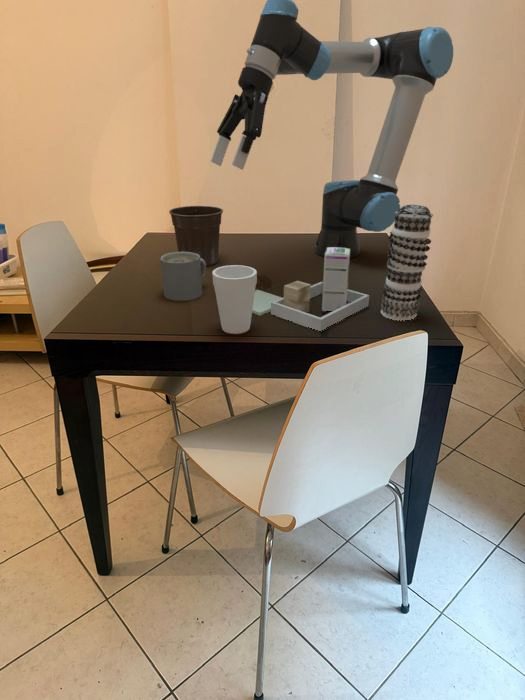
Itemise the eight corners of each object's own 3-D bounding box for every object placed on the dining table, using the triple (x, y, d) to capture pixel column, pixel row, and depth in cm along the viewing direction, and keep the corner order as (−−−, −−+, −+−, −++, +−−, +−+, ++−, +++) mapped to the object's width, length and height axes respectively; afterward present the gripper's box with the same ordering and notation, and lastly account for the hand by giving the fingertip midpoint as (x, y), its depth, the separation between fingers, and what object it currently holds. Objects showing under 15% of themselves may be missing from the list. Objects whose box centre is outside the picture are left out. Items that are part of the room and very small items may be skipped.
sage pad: (257, 292, 124) (257, 289, 123) (289, 303, 117) (289, 300, 117) (227, 303, 117) (227, 300, 116) (260, 315, 110) (260, 312, 110)
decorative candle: (371, 314, 111) (384, 207, 99) (390, 303, 117) (404, 201, 105) (407, 325, 106) (425, 213, 94) (424, 313, 112) (444, 206, 100)
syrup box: (345, 313, 112) (350, 254, 105) (320, 311, 113) (324, 252, 106) (346, 304, 116) (351, 247, 110) (322, 302, 118) (326, 246, 111)
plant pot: (191, 252, 158) (188, 203, 150) (233, 258, 152) (232, 207, 144) (163, 265, 145) (158, 212, 137) (207, 272, 139) (204, 217, 131)
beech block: (296, 307, 115) (297, 280, 112) (309, 311, 112) (310, 284, 109) (283, 313, 112) (283, 285, 108) (296, 318, 109) (297, 289, 106)
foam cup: (215, 319, 108) (212, 265, 102) (254, 318, 109) (254, 264, 103) (215, 337, 100) (212, 279, 94) (258, 336, 100) (258, 278, 94)
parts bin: (320, 292, 124) (321, 281, 123) (368, 306, 115) (369, 295, 114) (270, 314, 111) (270, 302, 110) (320, 332, 102) (321, 319, 101)
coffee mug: (177, 304, 116) (173, 265, 112) (157, 293, 123) (153, 256, 118) (220, 291, 124) (218, 255, 120) (199, 282, 131) (196, 247, 126)
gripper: (224, 70, 114) (194, 156, 119) (270, 57, 94) (233, 161, 99) (249, 86, 118) (220, 168, 123) (299, 76, 98) (261, 175, 103)
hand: (225, 165), depth 111 cm, fingers open, 13 cm apart
